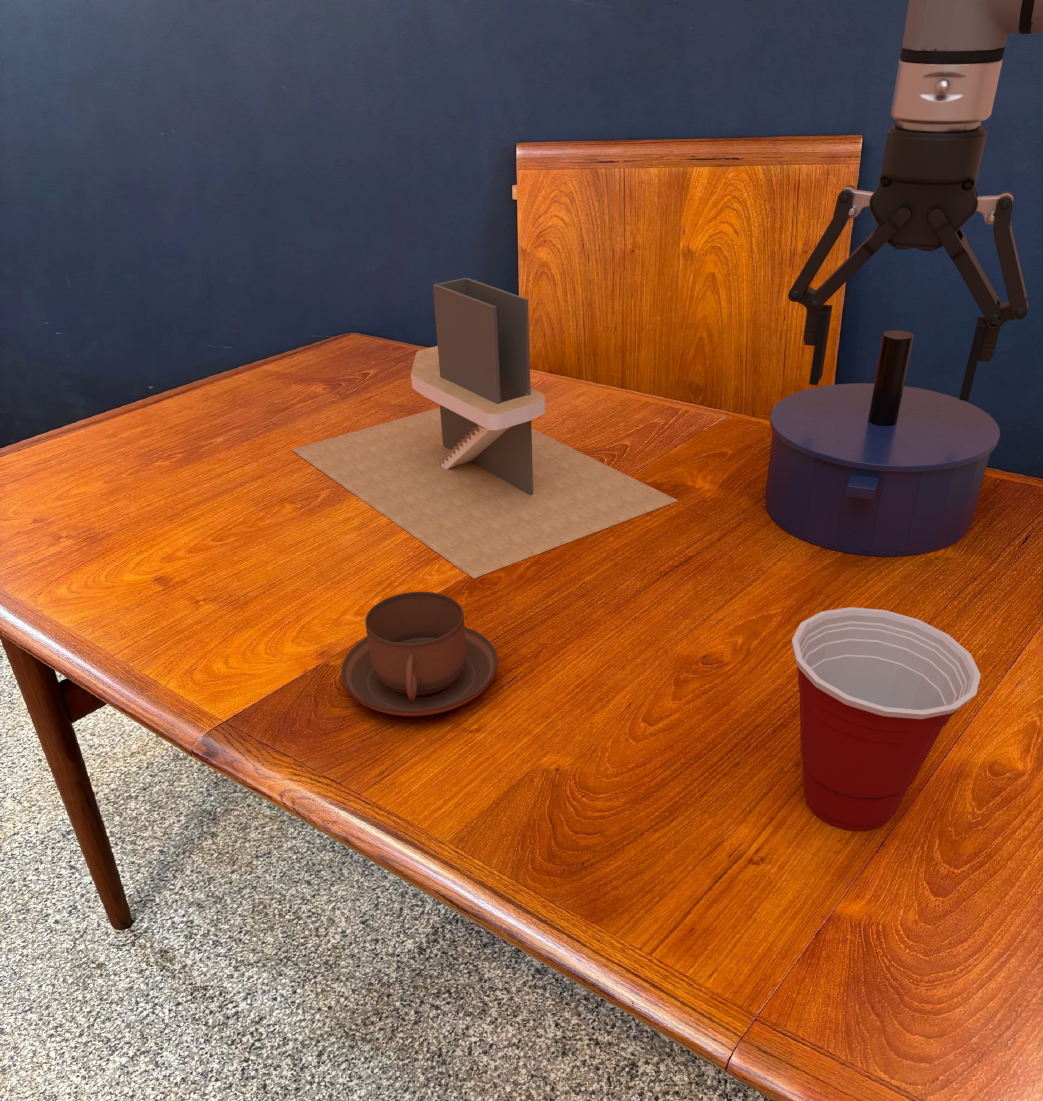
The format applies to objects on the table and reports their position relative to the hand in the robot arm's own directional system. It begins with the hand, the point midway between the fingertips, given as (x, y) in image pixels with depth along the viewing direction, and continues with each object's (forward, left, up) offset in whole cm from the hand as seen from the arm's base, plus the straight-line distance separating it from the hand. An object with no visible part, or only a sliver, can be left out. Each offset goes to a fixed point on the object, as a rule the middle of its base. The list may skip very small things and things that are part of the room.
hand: (888, 388), depth 93 cm
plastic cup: (-5, +44, -12) cm, 46 cm away
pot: (0, 0, -12) cm, 12 cm away
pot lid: (0, 0, -4) cm, 4 cm away
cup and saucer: (+28, +42, -12) cm, 52 cm away
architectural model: (+41, +5, -12) cm, 43 cm away
